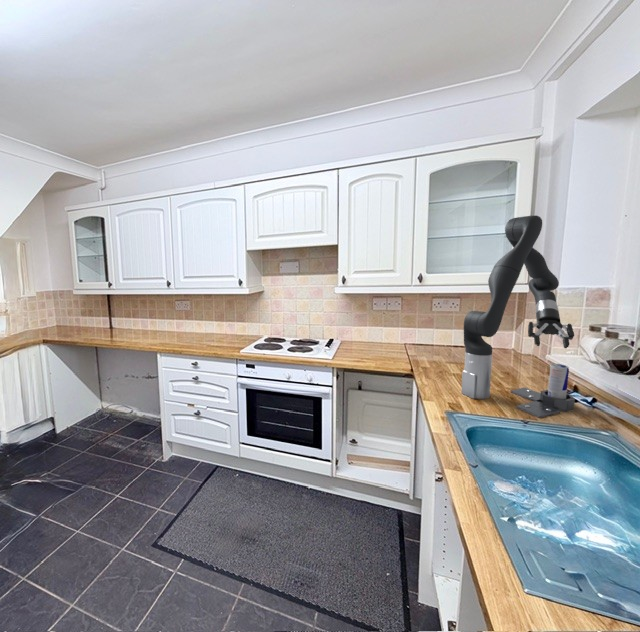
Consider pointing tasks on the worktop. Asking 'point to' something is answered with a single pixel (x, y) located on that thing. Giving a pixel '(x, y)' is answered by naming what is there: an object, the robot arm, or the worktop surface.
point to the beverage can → (558, 381)
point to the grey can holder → (543, 403)
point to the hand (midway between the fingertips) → (552, 346)
